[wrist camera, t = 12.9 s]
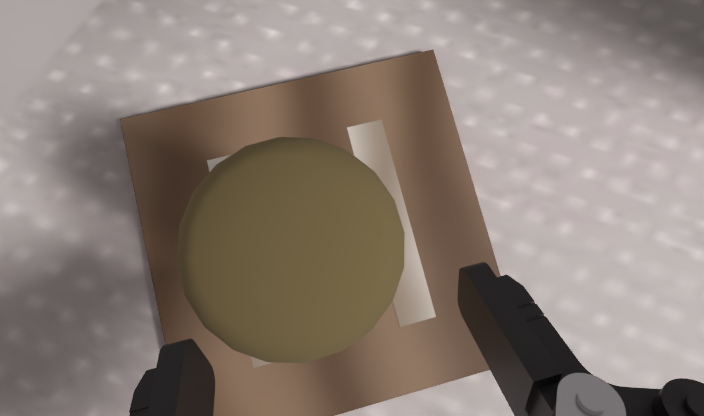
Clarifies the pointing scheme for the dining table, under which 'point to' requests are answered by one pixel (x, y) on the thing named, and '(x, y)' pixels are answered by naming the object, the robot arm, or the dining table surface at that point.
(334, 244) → the olive pawn figure
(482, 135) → the dining table surface
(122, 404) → the dining table surface
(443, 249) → the board
